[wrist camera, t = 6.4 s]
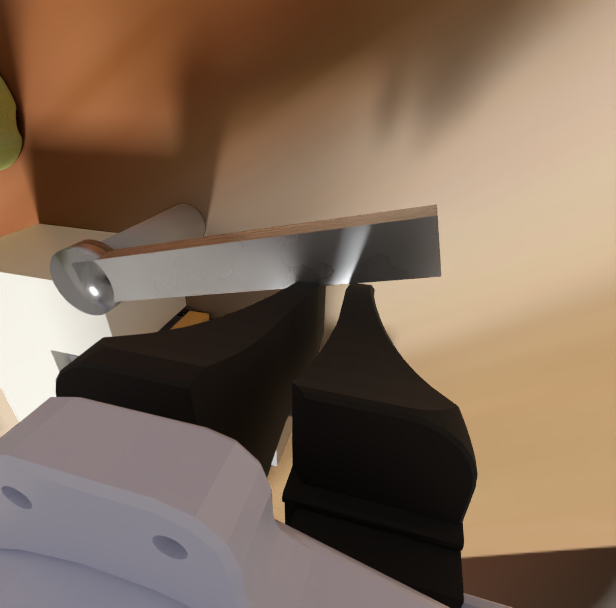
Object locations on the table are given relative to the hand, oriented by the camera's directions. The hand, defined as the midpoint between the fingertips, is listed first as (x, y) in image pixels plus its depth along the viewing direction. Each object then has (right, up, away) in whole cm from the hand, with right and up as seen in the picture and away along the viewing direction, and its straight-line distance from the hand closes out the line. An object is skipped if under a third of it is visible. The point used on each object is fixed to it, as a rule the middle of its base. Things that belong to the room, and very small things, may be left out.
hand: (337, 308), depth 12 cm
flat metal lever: (-4, +2, 0) cm, 4 cm away
